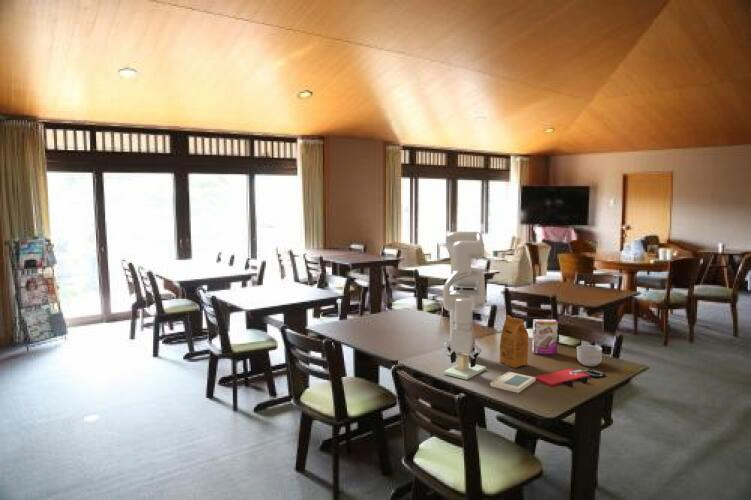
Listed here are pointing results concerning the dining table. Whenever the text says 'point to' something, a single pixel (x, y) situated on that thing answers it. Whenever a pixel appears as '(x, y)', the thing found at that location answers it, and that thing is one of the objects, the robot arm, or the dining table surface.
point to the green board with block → (464, 368)
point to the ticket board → (513, 382)
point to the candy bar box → (545, 336)
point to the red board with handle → (567, 376)
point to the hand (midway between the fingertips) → (463, 364)
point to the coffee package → (514, 343)
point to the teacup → (589, 355)
